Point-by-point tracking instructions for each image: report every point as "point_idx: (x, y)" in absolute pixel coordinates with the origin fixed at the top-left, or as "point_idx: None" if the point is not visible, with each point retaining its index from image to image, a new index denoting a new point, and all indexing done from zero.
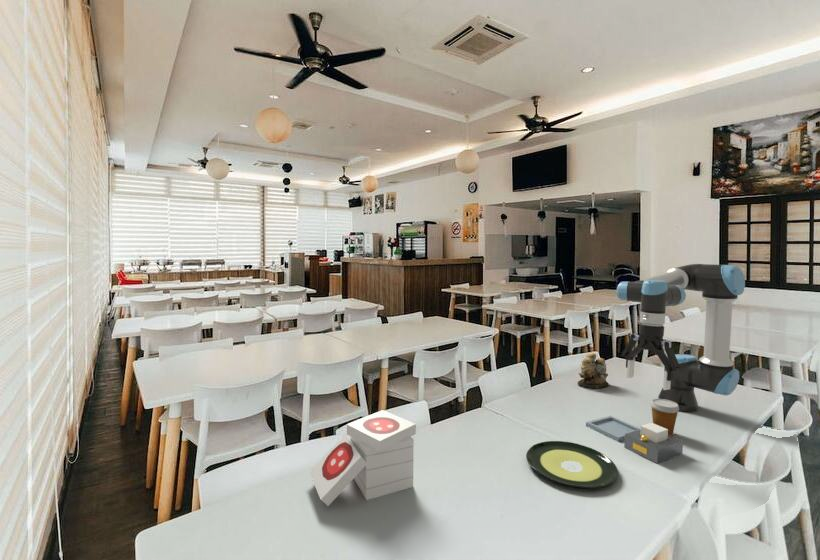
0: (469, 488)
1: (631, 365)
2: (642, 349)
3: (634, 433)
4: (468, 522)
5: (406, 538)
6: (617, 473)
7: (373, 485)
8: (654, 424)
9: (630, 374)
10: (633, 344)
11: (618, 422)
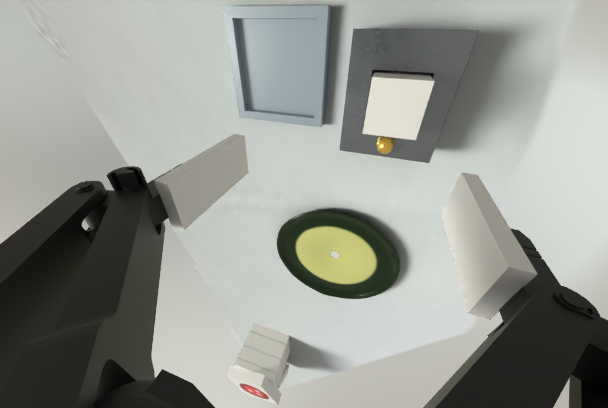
0: (310, 323)
1: (204, 193)
2: (121, 307)
3: (351, 127)
4: (343, 347)
5: (333, 364)
6: (393, 250)
7: (286, 359)
8: (385, 82)
9: (238, 169)
10: (4, 328)
11: (258, 18)
